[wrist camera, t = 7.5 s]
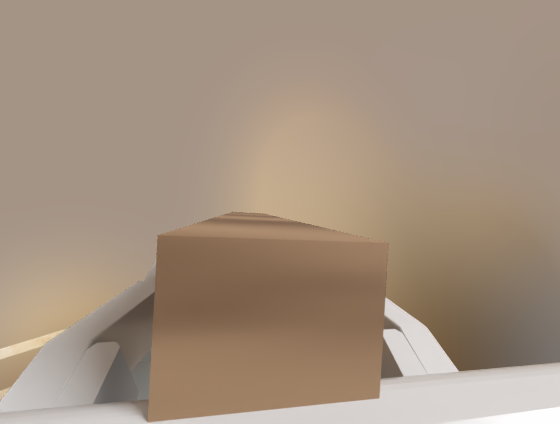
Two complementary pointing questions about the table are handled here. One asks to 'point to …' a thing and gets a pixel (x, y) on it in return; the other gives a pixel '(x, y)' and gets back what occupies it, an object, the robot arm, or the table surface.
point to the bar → (264, 317)
